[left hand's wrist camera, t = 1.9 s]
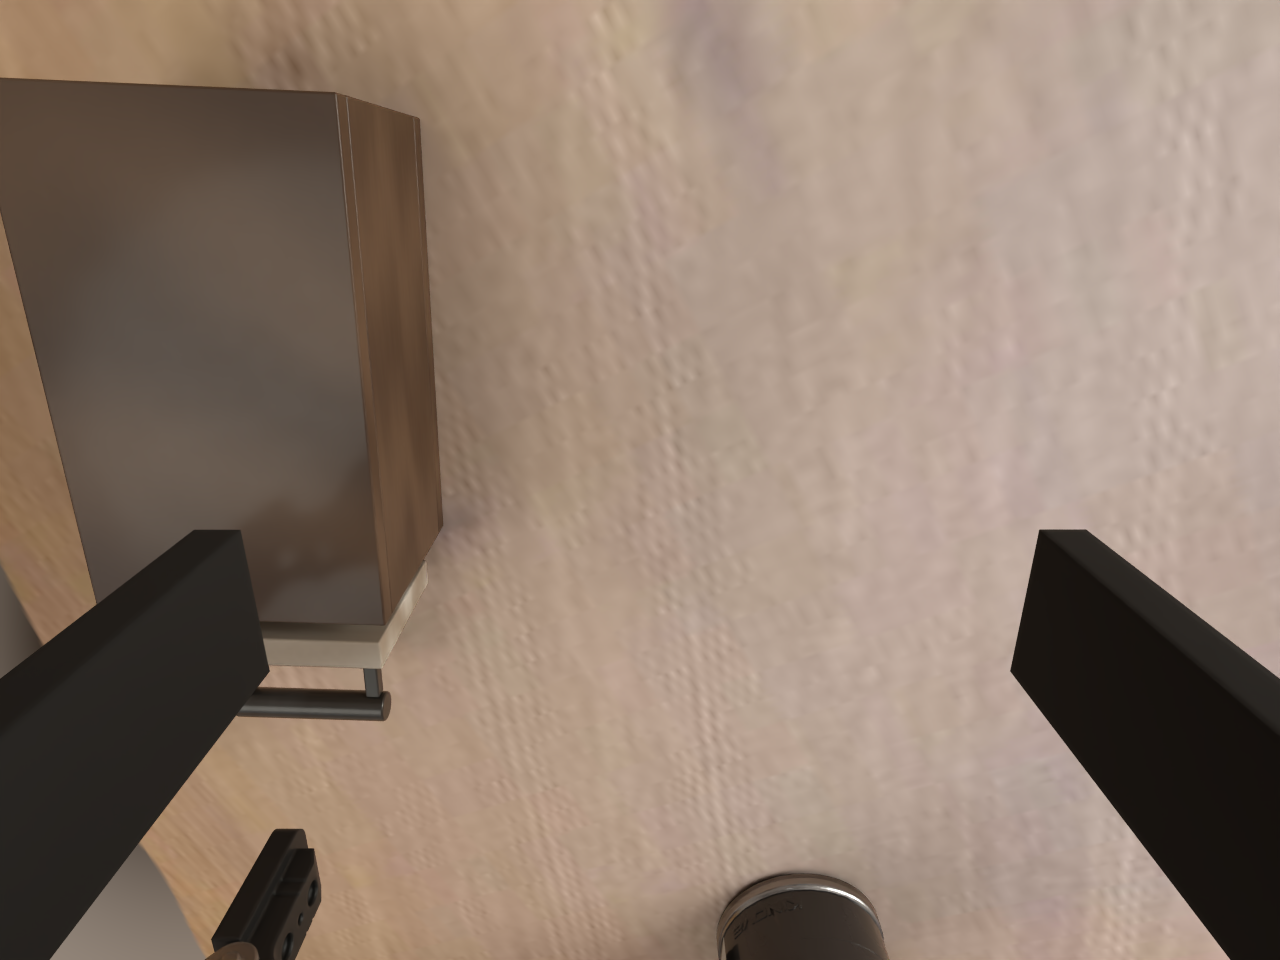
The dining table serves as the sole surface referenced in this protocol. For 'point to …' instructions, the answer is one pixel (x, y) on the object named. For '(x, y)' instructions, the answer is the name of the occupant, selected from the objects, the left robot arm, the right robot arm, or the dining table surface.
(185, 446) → the cabinet
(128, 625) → the left robot arm
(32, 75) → the dining table surface
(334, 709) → the drawer
